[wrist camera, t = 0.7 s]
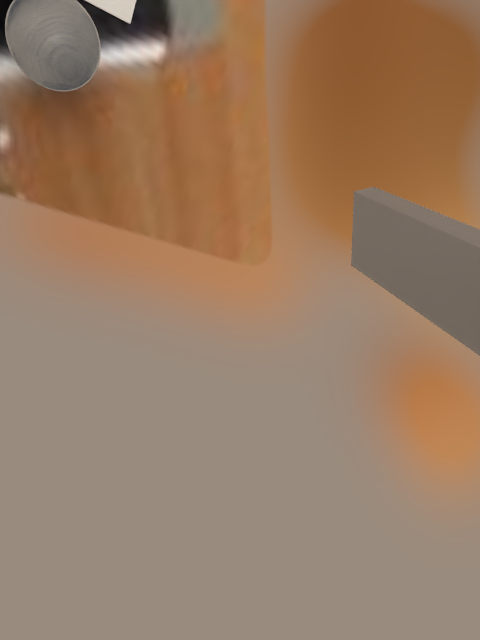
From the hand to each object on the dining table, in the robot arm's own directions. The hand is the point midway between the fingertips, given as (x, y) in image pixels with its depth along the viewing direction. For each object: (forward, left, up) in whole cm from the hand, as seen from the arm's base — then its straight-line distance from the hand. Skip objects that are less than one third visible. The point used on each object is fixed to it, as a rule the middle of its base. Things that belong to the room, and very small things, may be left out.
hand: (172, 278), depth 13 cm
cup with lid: (-5, +5, -25) cm, 26 cm away
